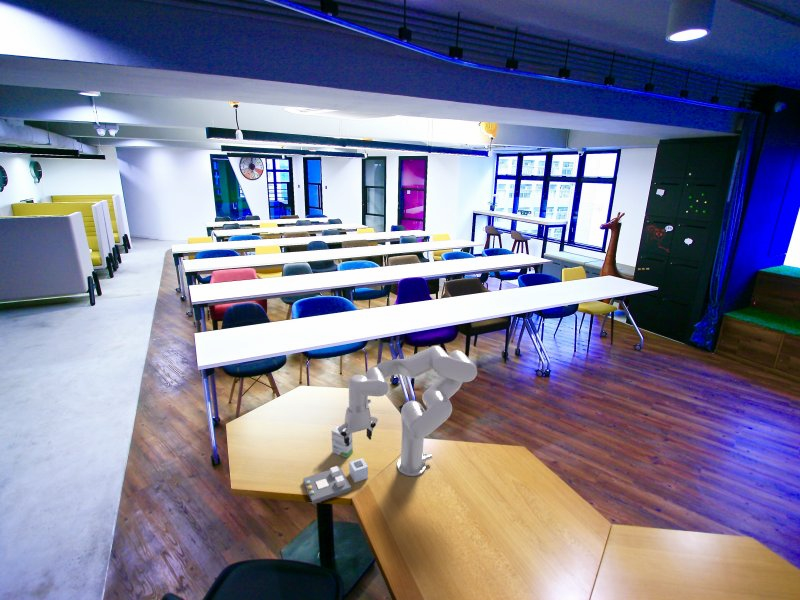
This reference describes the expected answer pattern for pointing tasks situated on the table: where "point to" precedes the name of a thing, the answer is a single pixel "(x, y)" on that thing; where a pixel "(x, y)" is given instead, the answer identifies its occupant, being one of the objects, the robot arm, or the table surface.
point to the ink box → (341, 443)
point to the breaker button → (321, 484)
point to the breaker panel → (334, 479)
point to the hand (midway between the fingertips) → (358, 440)
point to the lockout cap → (358, 470)
